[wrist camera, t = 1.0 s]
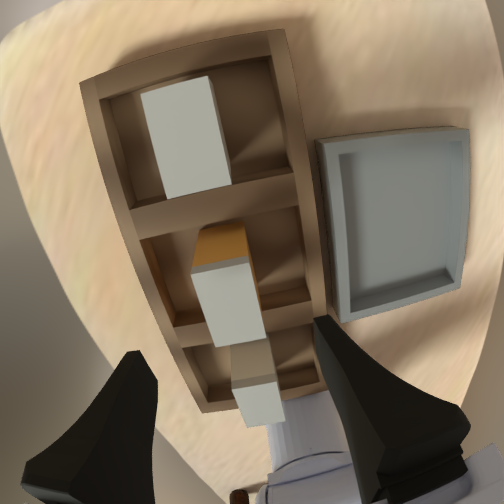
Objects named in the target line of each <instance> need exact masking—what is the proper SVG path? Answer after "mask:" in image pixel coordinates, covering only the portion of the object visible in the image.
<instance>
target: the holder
mask: <svg viewBox="0 0 504 504" xmlns="http://www.w3.org/2000/svg"><path fill="white" fill-rule="evenodd" d="M204 76H208V77H209V79H210V81H211V82H212V84H213V86H214V91H215V95H216V100H217V104H218V109H219V113H220V118H221V123H222V127H223V132H224V136H225V141H226V145H227V150H228V154H229V159H230V167H231V182H232V184H231V185H226V186H222V187H217V188H213V189H209V190H204V191H200V192H196V193H191V194H187V195H183V196H179V197H175V198H171V199H167V196H166V193H165V189H164V186H163V182H162V178H161V175H160V171H159V167H158V164H157V160H156V156H155V152H154V148H153V145H152V141H151V137H150V133H149V129H148V125H147V121H146V116H145V112H144V108H143V104H142V99H141V95H140V94H142V93H146V92H149V91H152V90H155V89H159V88H162V87H166V86H169V85H173V84H176V83H180V82H184V81H188V80H192V79H196V78H200V77H204ZM79 85H80V90H81V94H82V99H83V103H84V108H85V112H86V116H87V120H88V124H89V128H90V132H91V136H92V140H93V144H94V148H95V151H96V155H97V158H98V162H99V165H100V169H101V172H102V176H103V179H104V182H105V186H106V189H107V192H108V195H109V198H110V201H111V204H112V207H113V210H114V213H115V216H116V219H117V222H118V225H119V228H120V231H121V234H122V237H123V239H124V242H125V245H126V247H127V250H128V253H129V256H130V258H131V261H132V263H133V266H134V269H135V271H136V274H137V276H138V279H139V281H140V284H141V286H142V289H143V291H144V293H145V296H146V298H147V301H148V303H149V305H150V308H151V310H152V312H153V315H154V317H155V319H156V321H157V324H158V326H159V328H160V330H161V332H162V335H163V337H164V339H165V341H166V343H167V345H168V348H169V350H170V352H171V354H172V356H173V358H174V360H175V362H176V364H177V366H178V368H179V370H180V372H181V374H182V376H183V378H184V380H185V382H186V384H187V386H188V388H189V390H190V392H191V394H192V396H193V398H194V399H195V401H196V403H197V405H198V407H199V409H200V411H201V412H202V413H209V412H217V411H225V410H232V409H238V408H239V407H238V404H237V402H236V399H235V397H234V394H233V392H232V387H231V361H230V345H227V346H221V347H215V344H214V342H213V339H212V336H211V333H210V330H209V328H208V325H207V322H206V319H205V316H204V313H203V311H202V308H201V305H200V302H199V299H198V296H197V293H196V290H195V287H194V284H193V281H192V278H191V275H190V274H191V269H192V264H193V258H194V253H195V248H196V243H197V238H198V233H199V230H203V229H207V228H212V227H216V226H221V225H225V224H230V223H235V222H239V221H243V222H244V227H245V231H246V236H247V240H248V245H249V249H250V254H251V258H252V263H253V267H254V272H255V277H256V281H257V286H258V292H259V297H260V303H261V309H262V315H263V321H264V327H265V332H266V333H267V332H268V335H269V339H270V344H271V348H272V353H273V357H274V362H275V366H276V372H277V377H278V382H279V388H280V393H281V398H282V401H283V400H288V399H293V398H297V397H302V396H306V395H311V394H315V393H319V392H323V391H327V390H329V389H328V387H327V385H326V382H325V380H324V377H323V375H322V372H321V368H320V365H319V361H318V358H317V354H316V345H315V334H314V323H313V318H315V317H319V316H323V315H327V309H326V297H325V285H324V275H323V265H322V255H321V246H320V237H319V228H318V220H317V212H316V204H315V197H314V190H313V183H312V176H311V169H310V162H309V156H308V149H307V143H306V137H305V131H304V125H303V120H302V114H301V108H300V103H299V98H298V92H297V87H296V82H295V77H294V72H293V67H292V62H291V58H290V53H289V48H288V44H287V39H286V35H285V30H284V29H277V30H268V31H261V32H254V33H248V34H242V35H236V36H230V37H225V38H220V39H215V40H210V41H206V42H201V43H197V44H193V45H189V46H185V47H181V48H177V49H174V50H170V51H166V52H163V53H159V54H156V55H153V56H150V57H146V58H143V59H140V60H137V61H134V62H131V63H128V64H125V65H123V66H120V67H117V68H114V69H112V70H109V71H106V72H104V73H101V74H99V75H96V76H94V77H91V78H89V79H87V80H84V81H82V82H80V83H79Z"/></svg>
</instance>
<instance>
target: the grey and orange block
mask: <svg viewBox="0 0 504 504" xmlns="http://www.w3.org/2000/svg"><path fill="white" fill-rule="evenodd" d="M190 275H191V278H192V281H193V284H194V287H195V290H196V293H197V296H198V299H199V302H200V305H201V308H202V311H203V313H204V316H205V319H206V322H207V325H208V328H209V330H210V333H211V336H212V339H213V342H214V344H215V347H221V346H227V345H232V344H238V343H243V342H248V341H253V340H259V339H264V338H266V332H265V327H264V321H263V315H262V309H261V303H260V297H259V292H258V286H257V281H256V277H255V272H254V267H253V263H252V258H251V254H250V249H249V245H248V240H247V236H246V231H245V227H244V222H243V221H239V222H235V223H230V224H225V225H221V226H216V227H212V228H207V229H203V230H199V233H198V238H197V243H196V248H195V253H194V258H193V264H192V269H191V274H190Z"/></svg>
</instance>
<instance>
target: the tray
mask: <svg viewBox="0 0 504 504" xmlns="http://www.w3.org/2000/svg"><path fill="white" fill-rule="evenodd" d="M315 145H316V152H317V159H318V166H319V173H320V180H321V188H322V195H323V203H324V212H325V221H326V230H327V239H328V249H329V260H330V271H331V284H332V297H333V308H334V310H335V312H336V314H337V316H338V319H339V321H340V323H345V322H349V321H353V320H357V319H361V318H364V317H368V316H372V315H375V314H379V313H382V312H386V311H389V310H393V309H396V308H400V307H403V306H406V305H410V304H413V303H416V302H419V301H422V300H426V299H429V298H432V297H435V296H438V295H441V294H444V293H447V292H450V291H453V290H456V289H459V288H460V285H461V279H462V272H463V265H464V258H465V250H466V241H467V230H468V218H469V201H470V135H469V130H468V129H464V128H459V127H454V126H441V127H425V128H411V129H399V130H389V131H379V132H370V133H361V134H353V135H345V136H338V137H330V138H323V139H317V140H315Z"/></svg>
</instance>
